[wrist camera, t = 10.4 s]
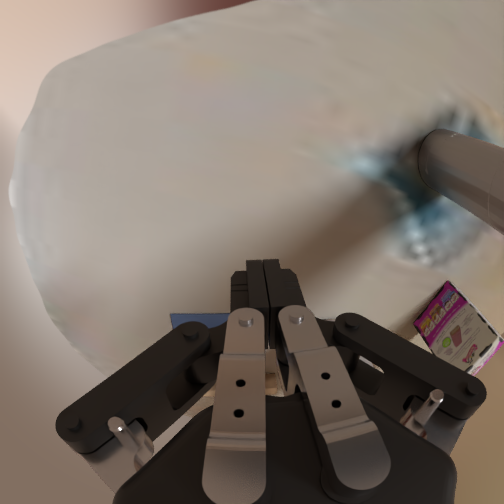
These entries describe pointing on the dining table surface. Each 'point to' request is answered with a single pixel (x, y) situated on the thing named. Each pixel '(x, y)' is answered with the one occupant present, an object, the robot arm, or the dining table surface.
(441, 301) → the candy bar box
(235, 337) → the robot arm
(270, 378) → the stopper
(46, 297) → the dining table surface
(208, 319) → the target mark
